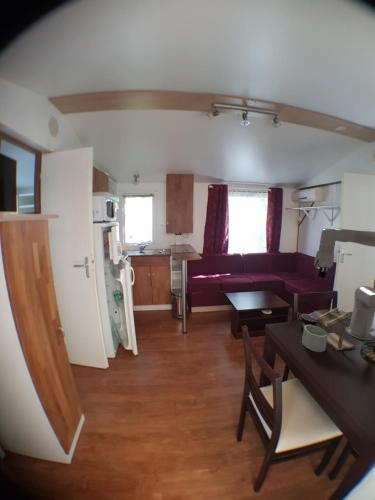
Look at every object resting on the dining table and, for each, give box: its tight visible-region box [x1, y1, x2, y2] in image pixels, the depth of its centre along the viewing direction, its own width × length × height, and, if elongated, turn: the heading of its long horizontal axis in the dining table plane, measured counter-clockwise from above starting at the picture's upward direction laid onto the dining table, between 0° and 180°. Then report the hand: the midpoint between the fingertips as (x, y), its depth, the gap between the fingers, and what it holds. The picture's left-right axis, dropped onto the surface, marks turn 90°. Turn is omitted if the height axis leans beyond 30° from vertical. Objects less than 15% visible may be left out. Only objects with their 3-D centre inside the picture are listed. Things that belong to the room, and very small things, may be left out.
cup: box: [301, 325, 328, 353], centre depth 106 cm, size 11×11×10 cm
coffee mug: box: [297, 313, 318, 333], centre depth 120 cm, size 12×9×10 cm
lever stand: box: [321, 310, 355, 351], centre depth 108 cm, size 12×13×17 cm
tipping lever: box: [307, 307, 352, 328], centre depth 109 cm, size 17×14×6 cm
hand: (321, 277), depth 118 cm, fingers closed
